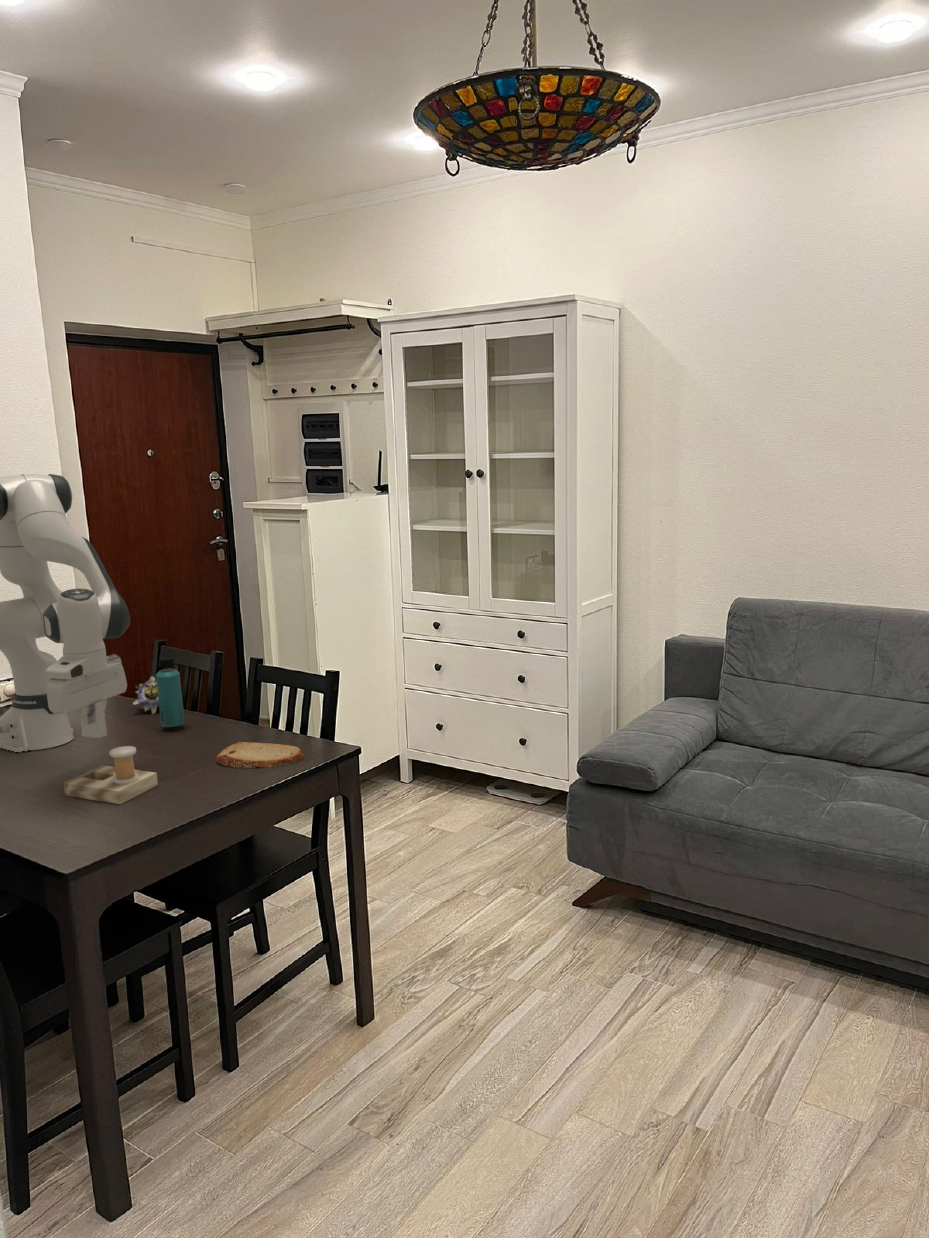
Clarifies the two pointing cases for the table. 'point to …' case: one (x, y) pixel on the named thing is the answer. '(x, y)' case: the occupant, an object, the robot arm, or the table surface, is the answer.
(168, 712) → the beverage bottle
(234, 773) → the table surface
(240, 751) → the slice of bread
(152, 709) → the passion flower
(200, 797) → the table surface
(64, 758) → the table surface
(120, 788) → the slot board
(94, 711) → the metal tab
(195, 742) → the table surface
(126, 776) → the bobbin
